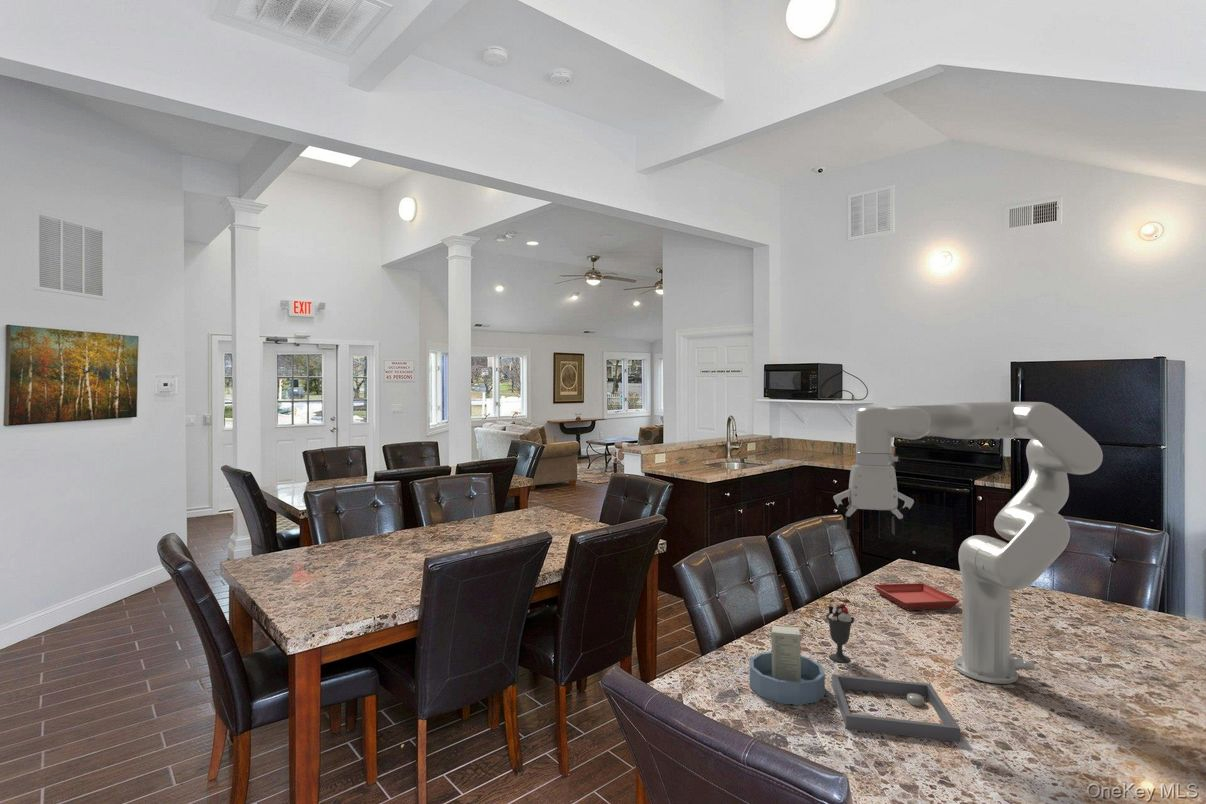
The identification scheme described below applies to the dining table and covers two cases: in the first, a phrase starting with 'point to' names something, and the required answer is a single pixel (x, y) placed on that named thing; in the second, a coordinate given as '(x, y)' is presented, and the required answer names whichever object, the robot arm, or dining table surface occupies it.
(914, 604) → the plant saucer
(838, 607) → the sundae
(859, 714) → the pebble
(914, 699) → the pebble
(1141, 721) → the dining table surface
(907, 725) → the gray rectangular frame
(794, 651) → the skincare box
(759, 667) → the bowl
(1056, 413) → the robot arm
